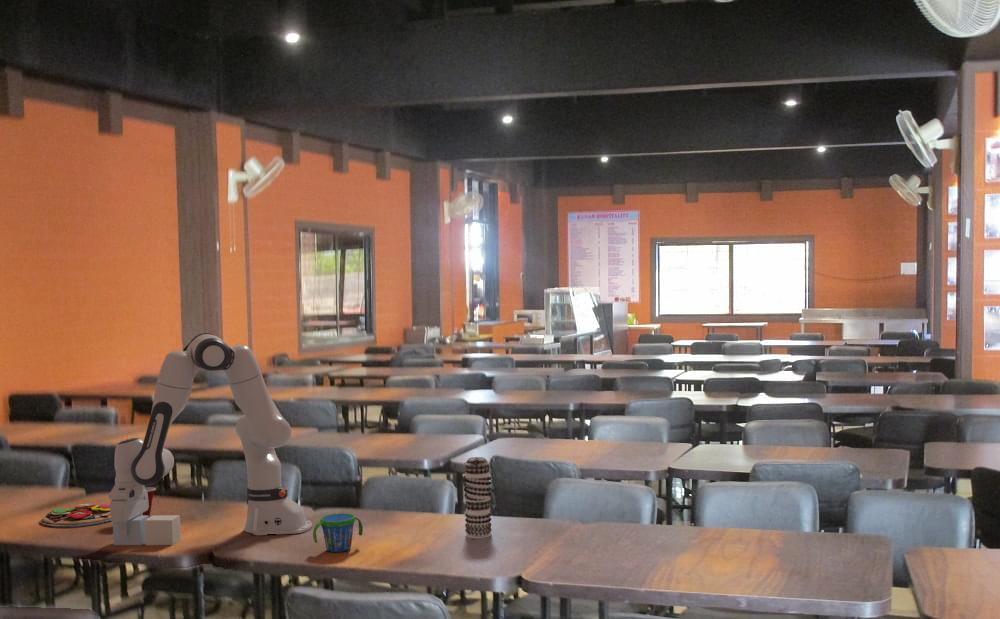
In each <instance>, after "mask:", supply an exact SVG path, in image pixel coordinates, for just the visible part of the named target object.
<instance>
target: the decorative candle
mask: <svg viewBox="0 0 1000 619" xmlns="http://www.w3.org/2000/svg"><path fill="white" fill-rule="evenodd" d="M489 464H490V462H489V461H488V460H487V459H486V458H485V457H482V456H474V457H469V458H467V460H466V462H464V465H465V472H464V474H465V475H463V477H462V478H463V479H462V480H463V486H464V487H463V491H464V492H465V493H464V495H463V496H464V501H465V502H466V503H465V504H466V508H465V513H464V515H465V519H464V521H465V522H466V523H465V524H464V526H465V530H464V531H465V537H466V538H469V539H486V538H490V537H491V536H492V523H491V521H492V518H491V516H492V513H491V507H490V500H491V495H492V493H491V492H490V491H492V488H491V487H489V486H490V485H492V481H490V480H492V477H491V476H490V471H489V468H490V467H489ZM489 536H490V537H489Z"/></svg>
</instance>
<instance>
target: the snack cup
mask: <svg viewBox="0 0 1000 619" xmlns="http://www.w3.org/2000/svg"><path fill="white" fill-rule="evenodd" d="M356 520H357V521H358V522H357V523H358V535H359V536H362V535H363V532H364V527H363V523H362V521H361V519H359V518H358V517H357V516H355V515H354V514H351V513H344V512H343V513H341V512H339V513H331V514H327V515H324V516H322V517H320V520H319V521H318V522H317V523H316V524H315V526H314V527H313V528H314V529H313V532H312V538H313V542H314V543H316V544H317V543H318V539H317V531H318V530H317V529H318V528H319V527H320V526H321V529H322V531H323V538H324V543H325V548H326V551H327V552H331V553H342V552H343V553H344V552H346V551H349V550H350V549H351V547H352V542H353V540H352V539H353V536H354V535H353V534H354V533H353V532H354V525H355V521H356Z"/></svg>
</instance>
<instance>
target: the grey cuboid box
mask: <svg viewBox="0 0 1000 619" xmlns="http://www.w3.org/2000/svg"><path fill="white" fill-rule="evenodd" d="M181 539H182V537H181V515H174V514H173V515H170V514H169V515H168V514H167V515H161V514H159V515H155V514H154V515H152V516H151V515H150V518H148V519H146V520H145V543H144V545H145V546H174V545H175V544H177V543H178V542H180V541H181ZM179 540H180V541H179Z"/></svg>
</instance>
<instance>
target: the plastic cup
mask: <svg viewBox="0 0 1000 619" xmlns="http://www.w3.org/2000/svg"><path fill="white" fill-rule="evenodd" d="M145 489H146V490H147V493H148V502H149V507H148V510H147V511H145V512H143V516H149V518H150V517H151V511H152V504H153V498H154V494H155V491H156V490H157V489H156V487H151V486H145Z"/></svg>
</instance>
